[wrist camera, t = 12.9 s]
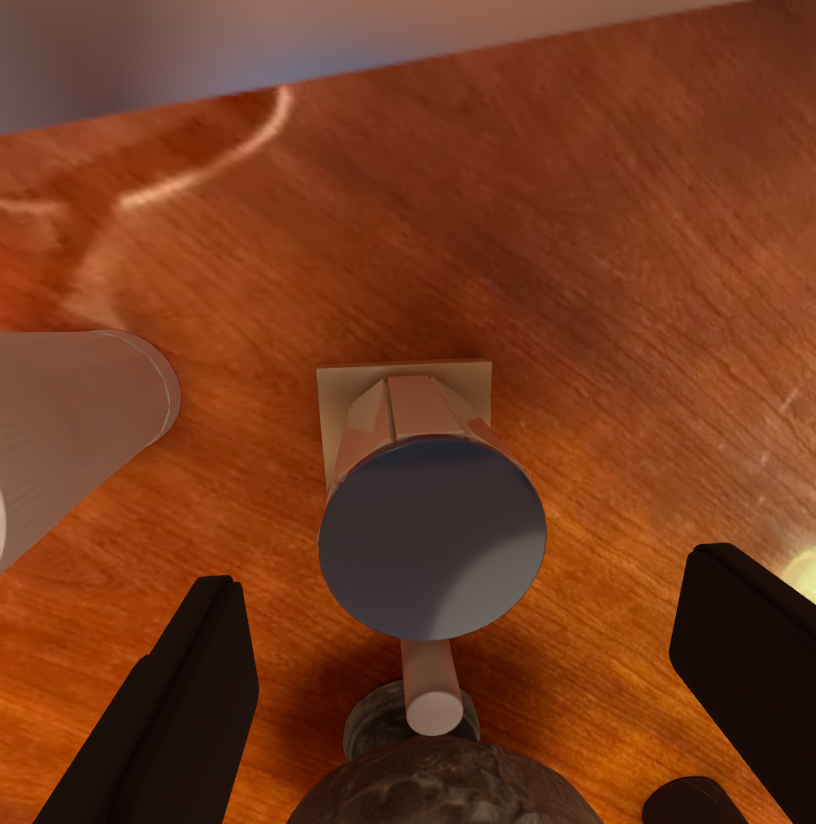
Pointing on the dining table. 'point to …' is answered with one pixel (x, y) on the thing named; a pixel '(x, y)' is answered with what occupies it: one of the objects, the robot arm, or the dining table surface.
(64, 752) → the dining table surface
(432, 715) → the double peg stand
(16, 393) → the cup
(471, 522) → the blue topped tan cylinder
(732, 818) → the travel mug
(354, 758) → the bowl
